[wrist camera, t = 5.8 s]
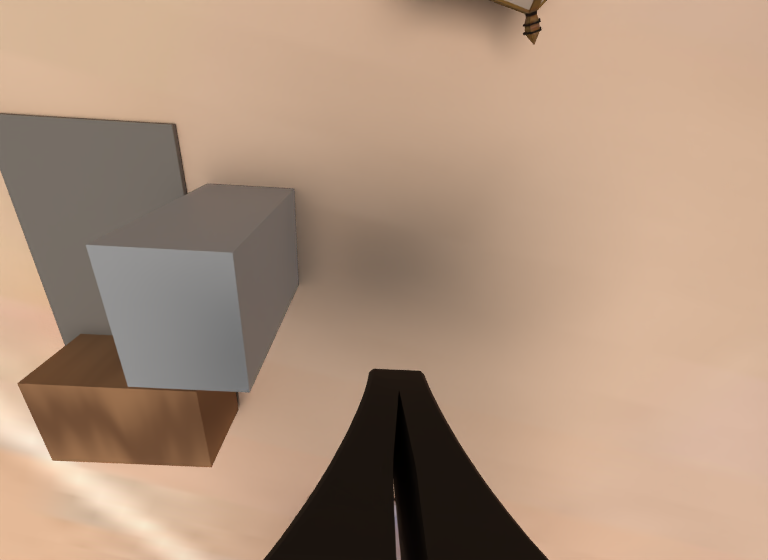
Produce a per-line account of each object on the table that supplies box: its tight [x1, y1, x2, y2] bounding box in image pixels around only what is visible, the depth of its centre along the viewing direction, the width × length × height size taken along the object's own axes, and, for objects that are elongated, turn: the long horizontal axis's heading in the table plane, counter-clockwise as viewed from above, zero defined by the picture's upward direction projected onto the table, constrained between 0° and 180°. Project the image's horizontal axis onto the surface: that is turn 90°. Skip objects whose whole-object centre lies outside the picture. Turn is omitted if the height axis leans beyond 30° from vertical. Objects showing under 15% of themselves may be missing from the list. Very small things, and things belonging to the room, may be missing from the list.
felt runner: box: [0, 114, 187, 346], centre depth 20 cm, size 18×8×1 cm, turn 177°
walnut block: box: [17, 334, 238, 467], centre depth 20 cm, size 5×4×8 cm
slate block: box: [86, 184, 299, 392], centre depth 15 cm, size 5×4×8 cm
